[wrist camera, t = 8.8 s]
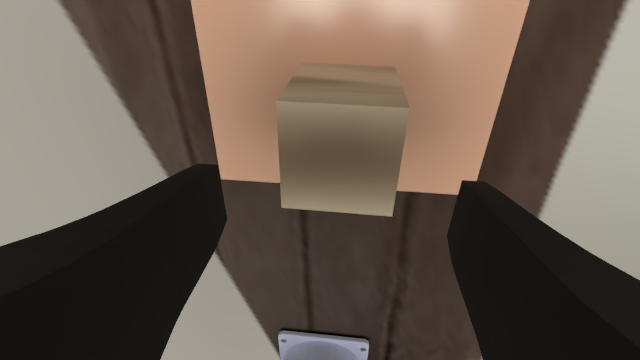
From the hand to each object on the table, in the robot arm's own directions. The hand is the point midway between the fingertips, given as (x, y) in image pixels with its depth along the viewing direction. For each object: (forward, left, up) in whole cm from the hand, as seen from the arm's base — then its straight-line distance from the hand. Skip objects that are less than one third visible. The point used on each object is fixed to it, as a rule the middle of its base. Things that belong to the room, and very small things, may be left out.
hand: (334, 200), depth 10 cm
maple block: (0, 0, -9) cm, 9 cm away
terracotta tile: (0, 0, -10) cm, 10 cm away
